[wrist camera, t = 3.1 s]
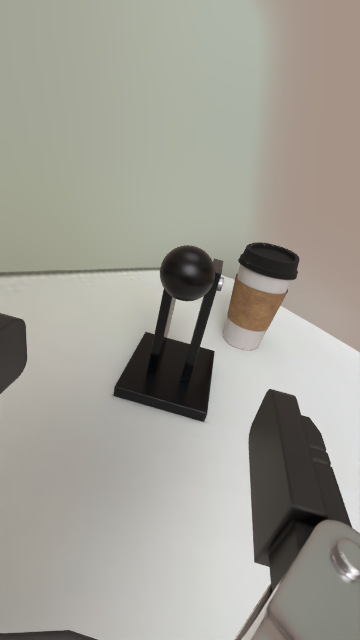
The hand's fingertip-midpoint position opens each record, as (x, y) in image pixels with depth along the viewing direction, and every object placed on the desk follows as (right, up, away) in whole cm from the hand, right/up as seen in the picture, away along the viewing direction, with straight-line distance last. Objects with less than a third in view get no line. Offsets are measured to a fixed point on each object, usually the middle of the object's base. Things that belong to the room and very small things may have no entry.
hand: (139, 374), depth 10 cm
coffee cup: (+11, -2, +38) cm, 40 cm away
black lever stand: (0, -5, +27) cm, 27 cm away
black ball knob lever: (+2, +4, +15) cm, 16 cm away
